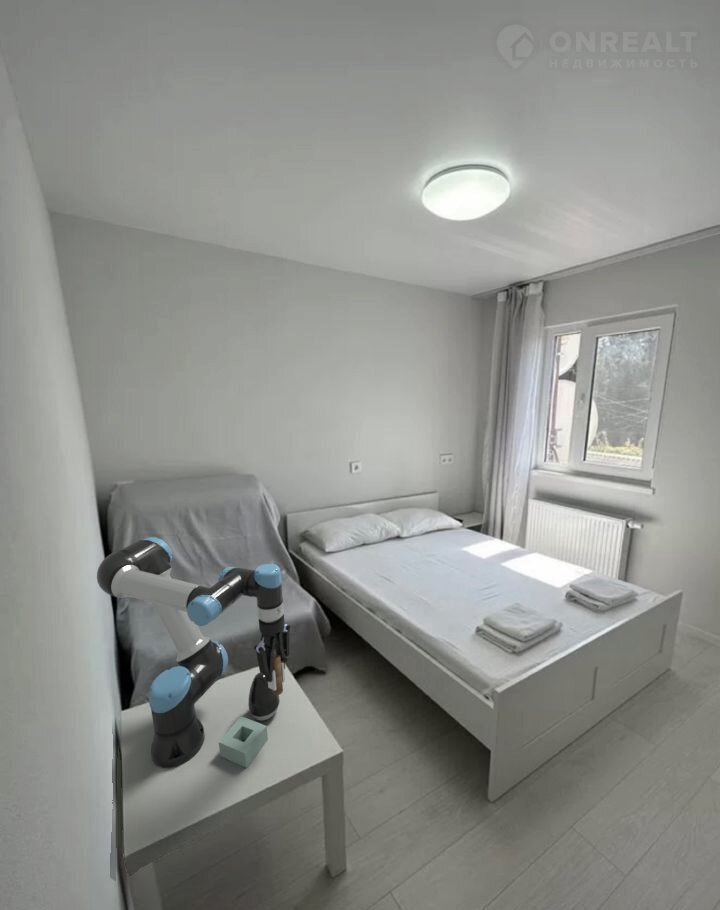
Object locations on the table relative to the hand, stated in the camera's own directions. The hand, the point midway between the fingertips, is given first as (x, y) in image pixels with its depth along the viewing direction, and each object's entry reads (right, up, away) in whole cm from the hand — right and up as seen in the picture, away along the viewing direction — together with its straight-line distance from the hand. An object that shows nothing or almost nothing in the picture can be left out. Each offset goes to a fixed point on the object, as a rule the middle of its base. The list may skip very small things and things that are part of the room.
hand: (276, 684), depth 123 cm
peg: (0, -3, 0) cm, 3 cm away
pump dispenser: (-6, -17, +12) cm, 22 cm away
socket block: (-10, -19, -1) cm, 22 cm away
